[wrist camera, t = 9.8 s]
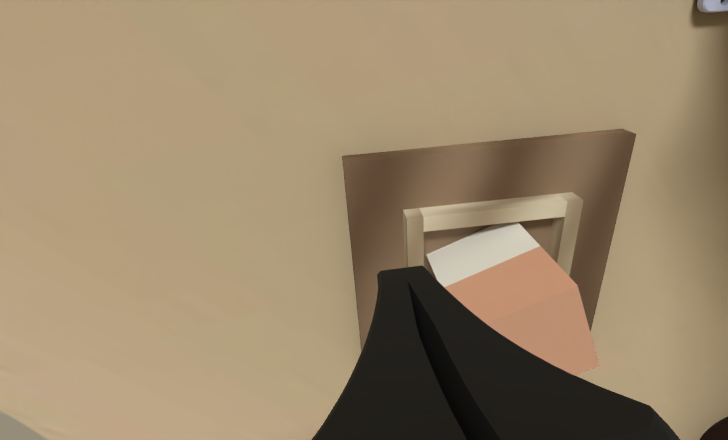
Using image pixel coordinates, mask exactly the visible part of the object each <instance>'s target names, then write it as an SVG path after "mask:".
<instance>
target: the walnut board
mask: <svg viewBox="0 0 728 440" xmlns="http://www.w3.org/2000/svg"><path fill="white" fill-rule="evenodd" d="M635 137H636V134H635V133H632V132H629V131H627V130H624V129H616V130H606V131H596V132H586V133H575V134H565V135H555V136H544V137H534V138H524V139H514V140H503V141H493V142H483V143H473V144H462V145H452V146H442V147H431V148H421V149H411V150H401V151H390V152H380V153H370V154H360V155H349V156H342V159H343V169H344V179H345V189H346V199H347V209H348V219H349V229H350V239H351V249H352V259H353V269H354V280H355V290H356V300H357V310H358V320H359V330H360V340H361V350H363V347H364V344H365V342H366V339H367V335H368V332H369V329H370V326H371V322H372V319H373V315H374V310H375V305H376V300H377V293H378V281H377V274H378V273H379V272H380V271H382V270H390V269H398V268H406V267H414V266H421V265H422V266H423V267H425V268H426V269H427V270H428V271H429V272H430V273H431V274H432V275H433V276H434V278H435V279H436V276H435V274H434V272H433V270H432V267H431V265H430V263H429V260H428V258H427V256H426V255H427V254H429V253H431V252H433V251H436V250H438V249H440V248H442V247H445V246H447V245H449V244H451V243H454V242H456V241H458V240H460V239H463V238H465V237H467V236H469V235H472V234H474V233H476V232H478V231H481V230H483V229H485V228H487V227H490V226H492V225H494V224H501V223H511V222H518V223H519V224H520V225H521V226H522V227H523V228H524V229H525V230H526V231H527V232H528V233H529V234H530V235H531V236H532V238H533V239H534V240H535V241H536V242H537V243H538V244H539V245H540V246H541V247H542V248H543V249H544V250H545V251H546V252H547V253H548V255H549V256H550V257H551V258H552V259H553V260H554V261H555V262H556V263H557V264H558V265H559V266H560V267H561V268H562V269H563V270H564V272H565V273H566V274H567V275H568V276H569V277H570V278H571V279H572V280H573V281H574V282H575V283H576V284H577V285H578V289H579V292H580V296H581V300H582V303H583V307H584V311H585V315H586V318H587V322H588V326H589V329H590V331H591V327H592V323H593V319H594V314H595V310H596V306H597V301H598V297H599V293H600V288H601V284H602V280H603V275H604V271H605V267H606V262H607V258H608V254H609V249H610V245H611V241H612V237H613V232H614V228H615V224H616V219H617V215H618V211H619V206H620V202H621V198H622V193H623V189H624V185H625V180H626V176H627V172H628V167H629V163H630V159H631V154H632V150H633V146H634V142H635ZM436 280H437V279H436Z"/></svg>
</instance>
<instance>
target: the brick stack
mask: <svg viewBox="0 0 728 440" xmlns="http://www.w3.org/2000/svg"><path fill="white" fill-rule="evenodd" d="M426 256H427V258H428V260H429V263H430V265H431V267H432V270H433V272H434V274H435V276H436V279H437V281H438V282H439V283H440V284H441V285H442V286H443V287H444V288H445V289H447V290H448V291H449V292H450V293H451V294H452V295H453V296H454V297H455V298H456V299H457V300H458V301H460V302H461V303H462V304H463V305H464V306H465V307H466V308H467V309H469V310H470V311H471V312H472V313H473V314H475V315H476V316H477V317H478V318H480V319H481V320H482V321H483V322H485V323H486V324H487V325H489V326H490V327H491V328H493V329H494V330H495V331H497V332H498V333H500V334H501V335H503V336H504V337H506V338H507V339H509V340H510V341H512V342H514V343H515V344H517V345H518V346H520V347H522V348H523V349H525V350H527V351H528V352H530V353H532V354H534V355H536V356H537V357H539V358H541V359H543V360H545V361H547V362H548V363H550V364H552V365H554V366H556V367H558V368H560V369H562V370H564V371H566V372H568V373H570V374H572V375H577V374H580V373H582V372H585V371H587V370H590V369H593V368H595V367H598V366H599V363H598V359H597V355H596V351H595V348H594V344H593V340H592V337H591V333H590V329H589V326H588V322H587V318H586V315H585V311H584V307H583V303H582V300H581V296H580V292H579V289H578V285H577V284H576V283H575V282H574V281H573V280H572V279H571V278H570V277H569V276H568V275H567V274H566V273H565V272H564V270H563V269H562V268H561V267H560V266H559V265H558V264H557V263H556V262H555V261H554V260H553V259H552V258H551V257H550V256H549V255H548V253H547V252H546V251H545V250H544V249H543V248H542V247H541V246H540V245H539V244H538V243H537V242H536V241H535V240H534V239H533V238H532V236H531V235H530V234H529V233H528V232H527V231H526V230H525V229H524V228H523V227H522V226H521V225H520V224H519V223H518V222H511V223H501V224H494V225H492V226H490V227H487V228H485V229H483V230H481V231H478V232H476V233H474V234H472V235H469V236H467V237H465V238H463V239H460V240H458V241H456V242H454V243H451V244H449V245H447V246H445V247H442V248H440V249H438V250H436V251H433V252H431V253H429V254H427V255H426Z"/></svg>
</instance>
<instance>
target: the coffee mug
mask: <svg viewBox="0 0 728 440" xmlns="http://www.w3.org/2000/svg"><path fill="white" fill-rule="evenodd" d="M700 440H728V417H727V418H725V419H723V420H721V421H719V422H718V423H716V424H715V425H713V426H712V427H711V428H710V429H709V430H708V431H707V432H706V433H705V434H704V435H703V436H702V437H701V439H700Z"/></svg>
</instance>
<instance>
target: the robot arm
mask: <svg viewBox="0 0 728 440" xmlns="http://www.w3.org/2000/svg"><path fill="white" fill-rule="evenodd" d="M720 1H721V0H698V2H697V7H698V10H700V11H701V12H705V13H712V12H724V11H728V0H723V2H722V3H720ZM377 281H378V293H377V300H376V305H375V310H374V315H373V319H372V322H371V326H370V329H369V332H368V335H367V339H366V342H365V344H364V347H363V350H362V352H361V355H360V357H359V359H358V362H357V364H356V366H355V369H354V371H353V373H352V375H351V377H350V379H349V381H348V383H347V385H346V387H345V389H344V390H343V392H342V394H341V396H340V398H339V399H338V401H337V402H336V404H335V406H334V407H333V409H332V411H331V412H330V414H329V415H328V417H327V419H326V420H325V422H324V423H323V425H322V426H321V428H320V429H319V431H318V432H317V433H316V435H315V436H314V437H313V439H312V440H680V439H679V438H678V436H677V435H676V434H675V433H674V431H673V430H672V429H671V428H670V427H669V425H668V424H667V423H666V422H665V421H664V420H663V419H662V418H661V417H660V416H659V415H658V414H657V413H656V412H655V411H654V410H653V409H652V408H651V407H650V406H649V405H646V404H644V403H641V402H638V401H636V400H633V399H630V398H628V397H625V396H623V395H620V394H617V393H615V392H612V391H609V390H607V389H604V388H602V387H599V386H597V385H595V384H592V383H590V382H588V381H586V380H583V379H581V378H579V377H577V376H575V375H572V374H570V373H568V372H566V371H564V370H562V369H560V368H558V367H556V366H554V365H552V364H550V363H548V362H547V361H545V360H543V359H541V358H539V357H537V356H536V355H534V354H532V353H530V352H528V351H527V350H525V349H523V348H522V347H520V346H518V345H517V344H515V343H514V342H512V341H510V340H509V339H507V338H506V337H504V336H503V335H501V334H500V333H498V332H497V331H495V330H494V329H493V328H491V327H490V326H489V325H487V324H486V323H485V322H483V321H482V320H481V319H480V318H478V317H477V316H476V315H475V314H473V313H472V312H471V311H470V310H469V309H467V308H466V307H465V306H464V305H463V304H462V303H461V302H460V301H458V300H457V299H456V298H455V297H454V296H453V295H452V294H451V293H450V292H449V291H448V290H447V289H445V288H444V287H443V286H442V285H441V284H440V283H439V282H438V281H437V280H436V279H435V278H434V276H433V275H432V274H431V273H430V272H429V271H428V270H427V269H426V268H425V267H423V266H422V265H421V266H414V267H406V268H398V269H390V270H382V271H380V272H379V273H378V274H377Z"/></svg>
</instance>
